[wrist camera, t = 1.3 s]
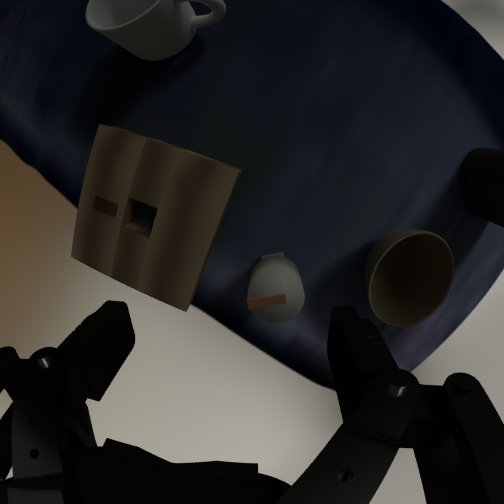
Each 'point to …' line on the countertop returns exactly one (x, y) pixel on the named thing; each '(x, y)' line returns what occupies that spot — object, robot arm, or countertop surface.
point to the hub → (167, 218)
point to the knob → (275, 289)
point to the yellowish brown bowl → (408, 276)
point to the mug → (151, 24)
